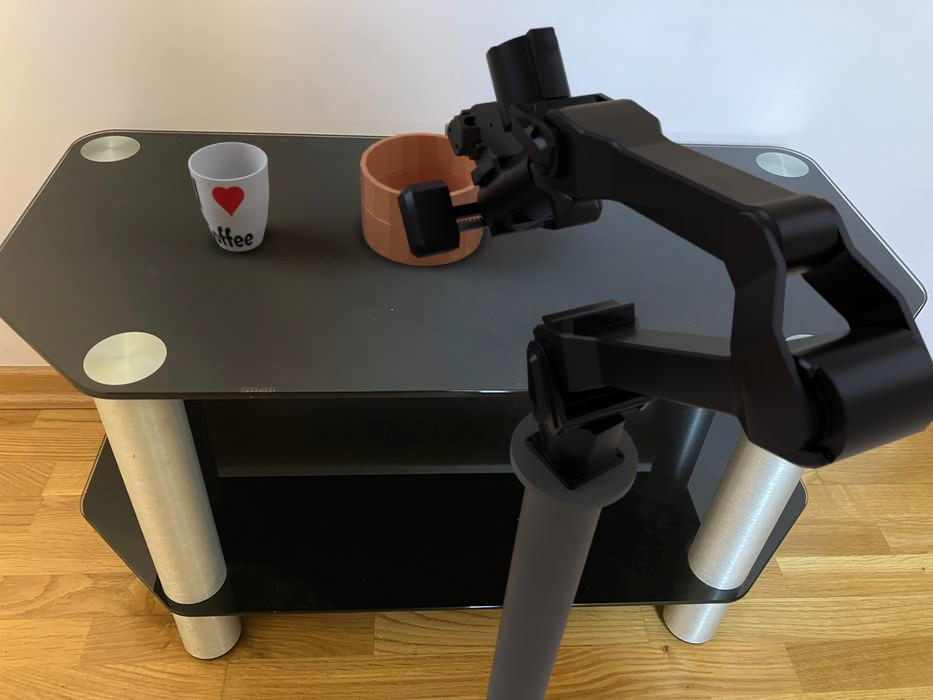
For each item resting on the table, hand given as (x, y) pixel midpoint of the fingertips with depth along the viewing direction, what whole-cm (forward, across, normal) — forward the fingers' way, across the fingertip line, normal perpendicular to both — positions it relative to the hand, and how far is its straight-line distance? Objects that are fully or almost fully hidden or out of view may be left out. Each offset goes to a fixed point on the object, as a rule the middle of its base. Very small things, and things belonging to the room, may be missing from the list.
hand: (472, 225), depth 79 cm
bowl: (+16, 0, -3) cm, 16 cm away
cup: (+19, +20, -6) cm, 29 cm away
